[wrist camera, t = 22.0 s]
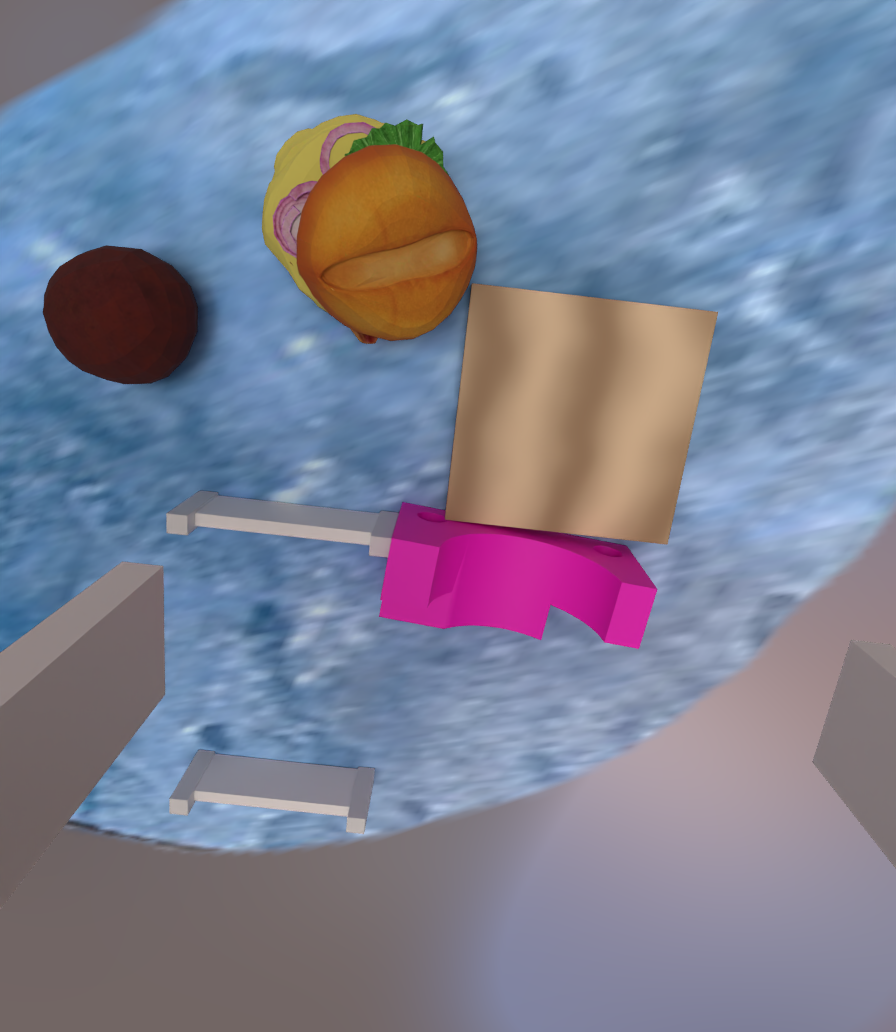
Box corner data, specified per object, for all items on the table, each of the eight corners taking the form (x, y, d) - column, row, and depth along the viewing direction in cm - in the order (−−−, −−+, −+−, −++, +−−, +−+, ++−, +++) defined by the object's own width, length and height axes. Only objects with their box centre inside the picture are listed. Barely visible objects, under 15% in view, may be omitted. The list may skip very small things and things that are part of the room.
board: (445, 510, 44) (444, 519, 42) (471, 284, 40) (472, 283, 38) (658, 534, 44) (667, 544, 42) (705, 311, 40) (718, 312, 38)
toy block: (386, 587, 46) (372, 639, 39) (402, 501, 44) (391, 537, 37) (601, 628, 47) (627, 686, 39) (625, 544, 45) (657, 589, 38)
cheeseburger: (349, 61, 35) (396, 54, 27) (475, 219, 41) (544, 252, 33) (222, 209, 37) (231, 244, 29) (361, 340, 43) (400, 399, 35)
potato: (65, 289, 40) (-14, 284, 34) (174, 227, 39) (115, 210, 33) (133, 400, 42) (71, 417, 36) (239, 344, 41) (196, 351, 34)
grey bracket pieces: (198, 763, 50) (169, 813, 45) (199, 490, 44) (166, 513, 39) (373, 781, 50) (364, 833, 45) (398, 512, 44) (391, 538, 39)
